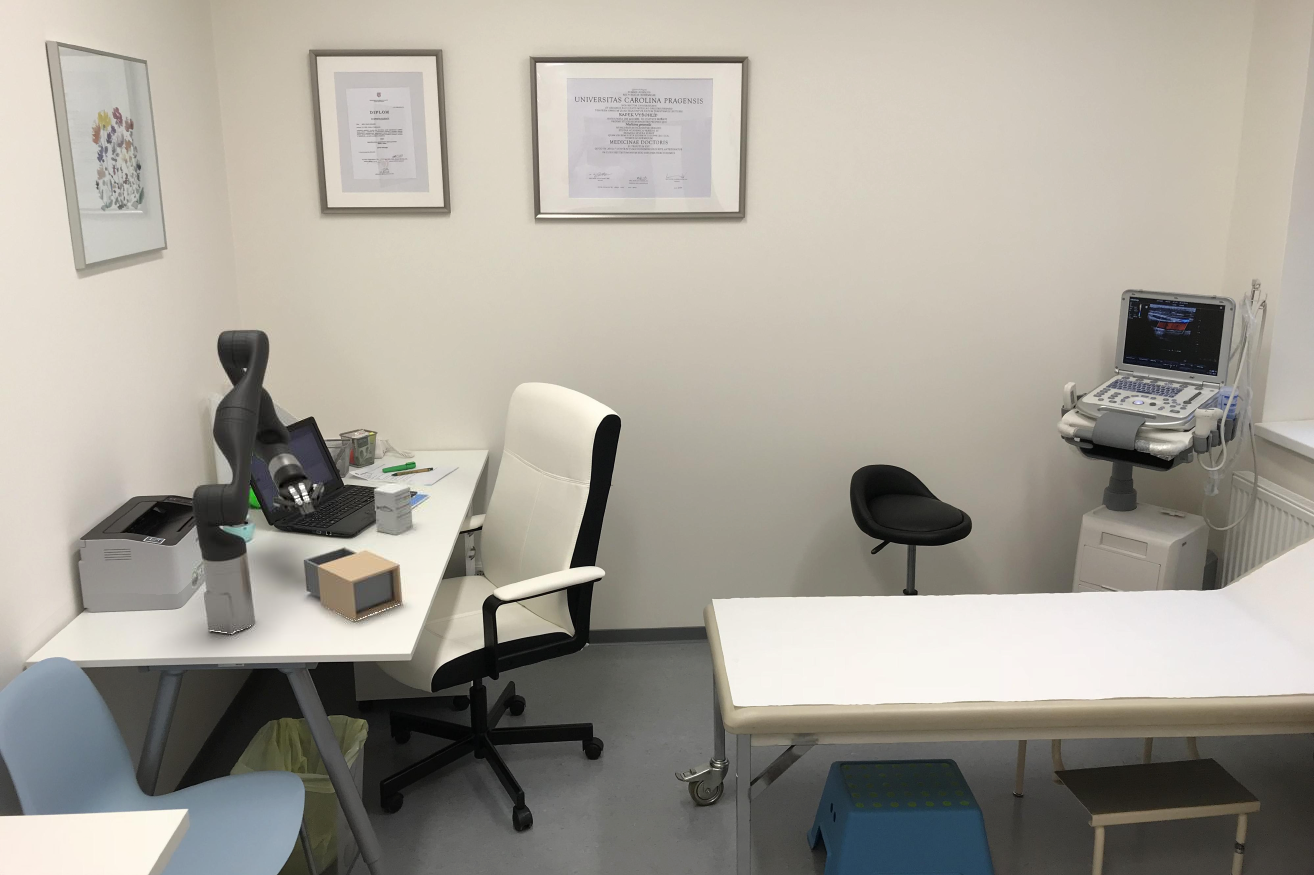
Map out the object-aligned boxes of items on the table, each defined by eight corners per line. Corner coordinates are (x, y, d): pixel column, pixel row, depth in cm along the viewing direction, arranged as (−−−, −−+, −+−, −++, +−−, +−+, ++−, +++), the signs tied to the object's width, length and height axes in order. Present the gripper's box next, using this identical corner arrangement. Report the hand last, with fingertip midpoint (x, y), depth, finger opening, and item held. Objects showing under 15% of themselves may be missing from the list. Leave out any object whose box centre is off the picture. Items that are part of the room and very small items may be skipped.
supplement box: (376, 531, 288) (372, 489, 284) (394, 523, 294) (390, 482, 291) (396, 535, 284) (392, 492, 281) (413, 527, 291) (410, 485, 287)
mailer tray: (306, 590, 245) (303, 560, 243) (347, 577, 253) (344, 547, 251) (352, 614, 233) (349, 581, 230) (393, 599, 240) (391, 567, 238)
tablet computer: (394, 495, 321) (394, 491, 320) (431, 498, 318) (430, 494, 318) (363, 515, 303) (363, 510, 302) (402, 518, 300) (401, 514, 299)
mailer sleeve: (321, 605, 240) (317, 565, 237) (369, 588, 249) (365, 550, 247) (354, 622, 231) (350, 581, 228) (402, 604, 240) (399, 564, 238)
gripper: (258, 472, 251) (280, 514, 240) (311, 455, 256) (334, 495, 246) (264, 494, 255) (285, 537, 244) (316, 477, 261) (339, 518, 250)
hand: (310, 516), depth 245 cm, fingers closed
